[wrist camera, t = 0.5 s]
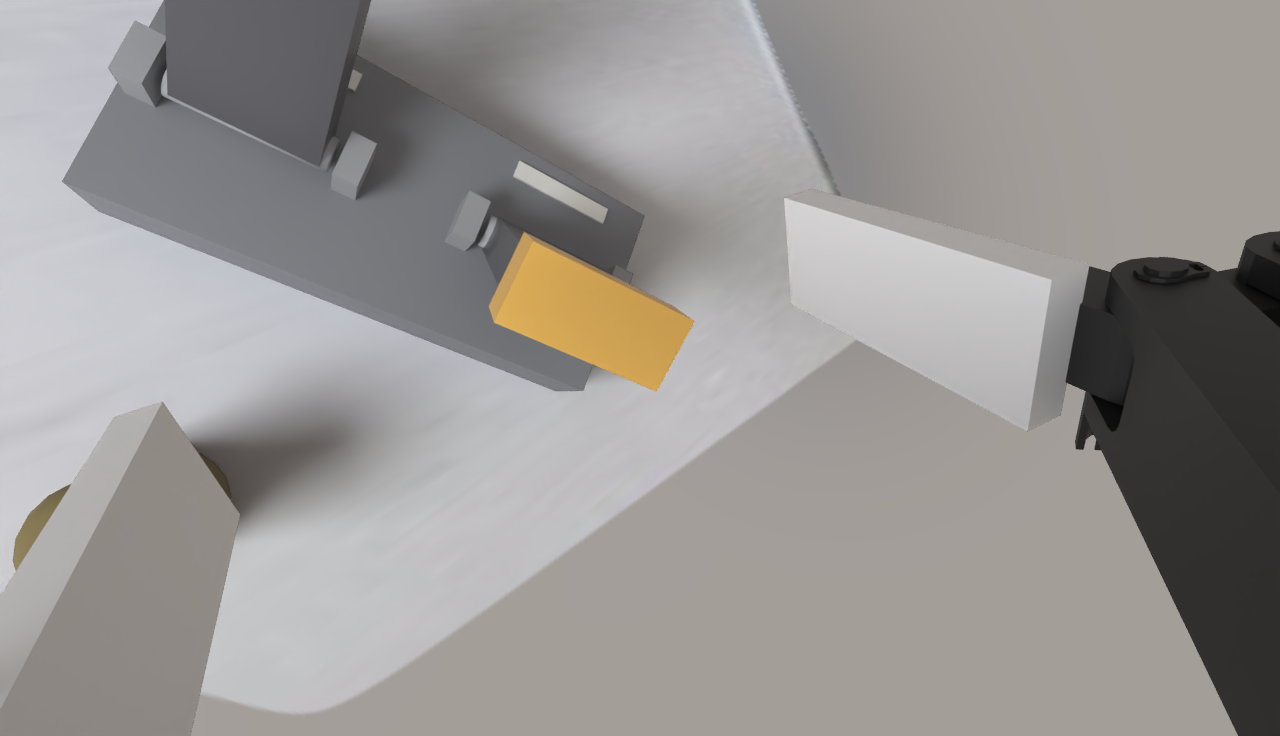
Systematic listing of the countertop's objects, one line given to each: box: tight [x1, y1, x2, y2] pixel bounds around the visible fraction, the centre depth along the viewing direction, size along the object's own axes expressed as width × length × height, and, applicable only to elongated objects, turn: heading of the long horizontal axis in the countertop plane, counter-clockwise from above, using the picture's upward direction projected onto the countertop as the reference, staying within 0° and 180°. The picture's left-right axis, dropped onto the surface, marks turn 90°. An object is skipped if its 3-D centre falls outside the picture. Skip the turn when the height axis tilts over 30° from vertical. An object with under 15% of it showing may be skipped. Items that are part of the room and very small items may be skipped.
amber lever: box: [478, 215, 695, 392], centre depth 30 cm, size 3×7×15 cm, turn 70°
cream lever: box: [161, 0, 371, 173], centre depth 25 cm, size 3×7×15 cm, turn 70°
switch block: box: [62, 0, 644, 391], centre depth 35 cm, size 26×12×8 cm, turn 70°
